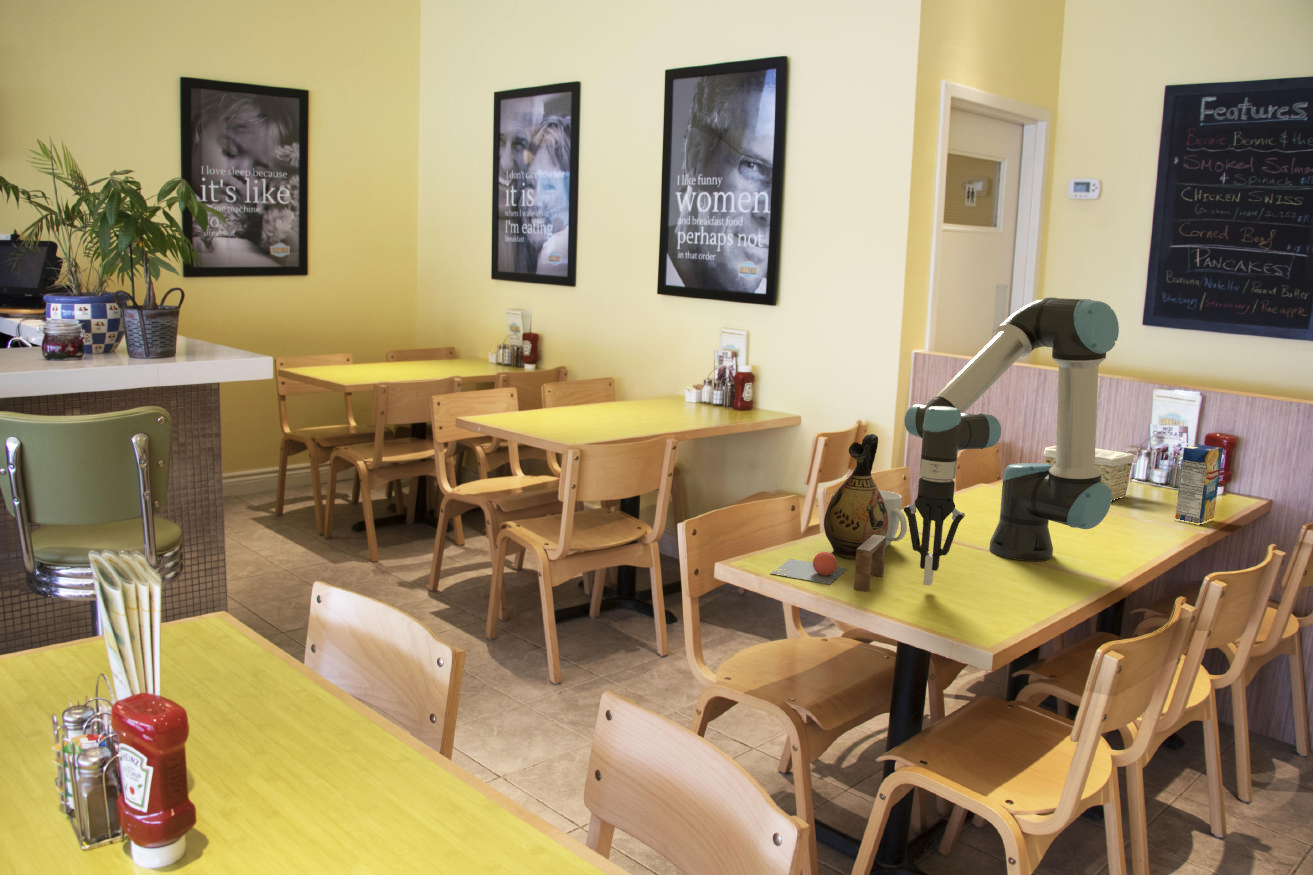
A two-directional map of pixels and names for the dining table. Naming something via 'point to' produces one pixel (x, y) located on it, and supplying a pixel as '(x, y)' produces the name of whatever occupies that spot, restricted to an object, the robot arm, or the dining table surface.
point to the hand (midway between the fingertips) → (927, 583)
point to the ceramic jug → (856, 504)
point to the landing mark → (806, 572)
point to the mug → (894, 516)
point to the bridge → (869, 561)
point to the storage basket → (1106, 468)
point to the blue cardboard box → (1198, 483)
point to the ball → (825, 563)
